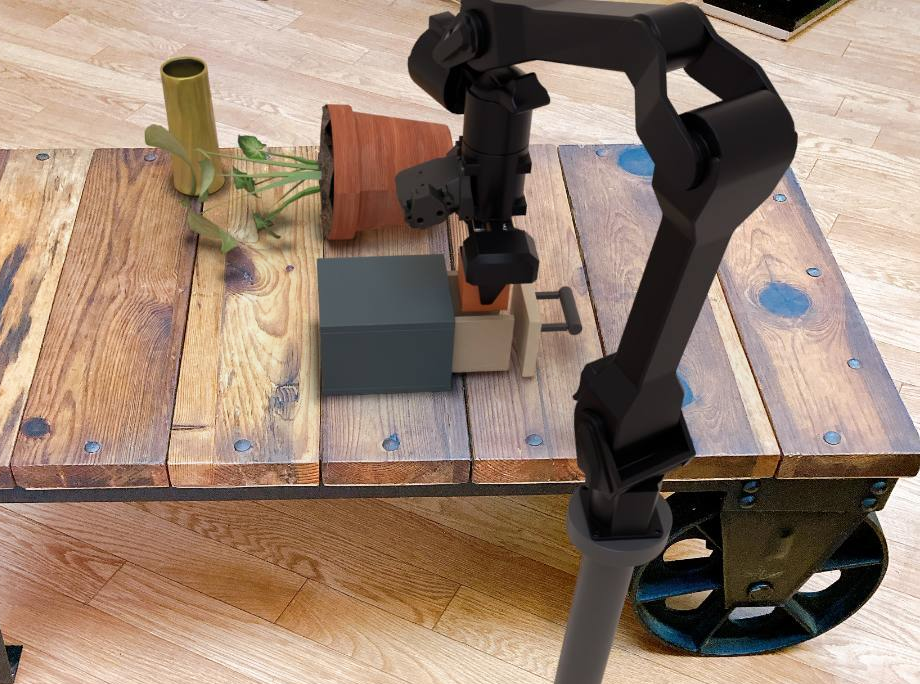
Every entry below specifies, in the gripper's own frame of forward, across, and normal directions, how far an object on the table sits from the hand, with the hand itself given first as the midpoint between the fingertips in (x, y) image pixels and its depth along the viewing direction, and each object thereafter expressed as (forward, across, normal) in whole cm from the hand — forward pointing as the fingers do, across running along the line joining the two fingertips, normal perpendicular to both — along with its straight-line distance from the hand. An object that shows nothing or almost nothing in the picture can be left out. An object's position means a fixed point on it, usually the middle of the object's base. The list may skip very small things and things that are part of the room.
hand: (482, 288), depth 106 cm
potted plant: (+8, -22, -18) cm, 30 cm away
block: (+1, 0, 0) cm, 1 cm away
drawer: (+7, 0, +2) cm, 7 cm away
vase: (+8, -34, -30) cm, 45 cm away
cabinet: (+8, 0, -10) cm, 13 cm away
